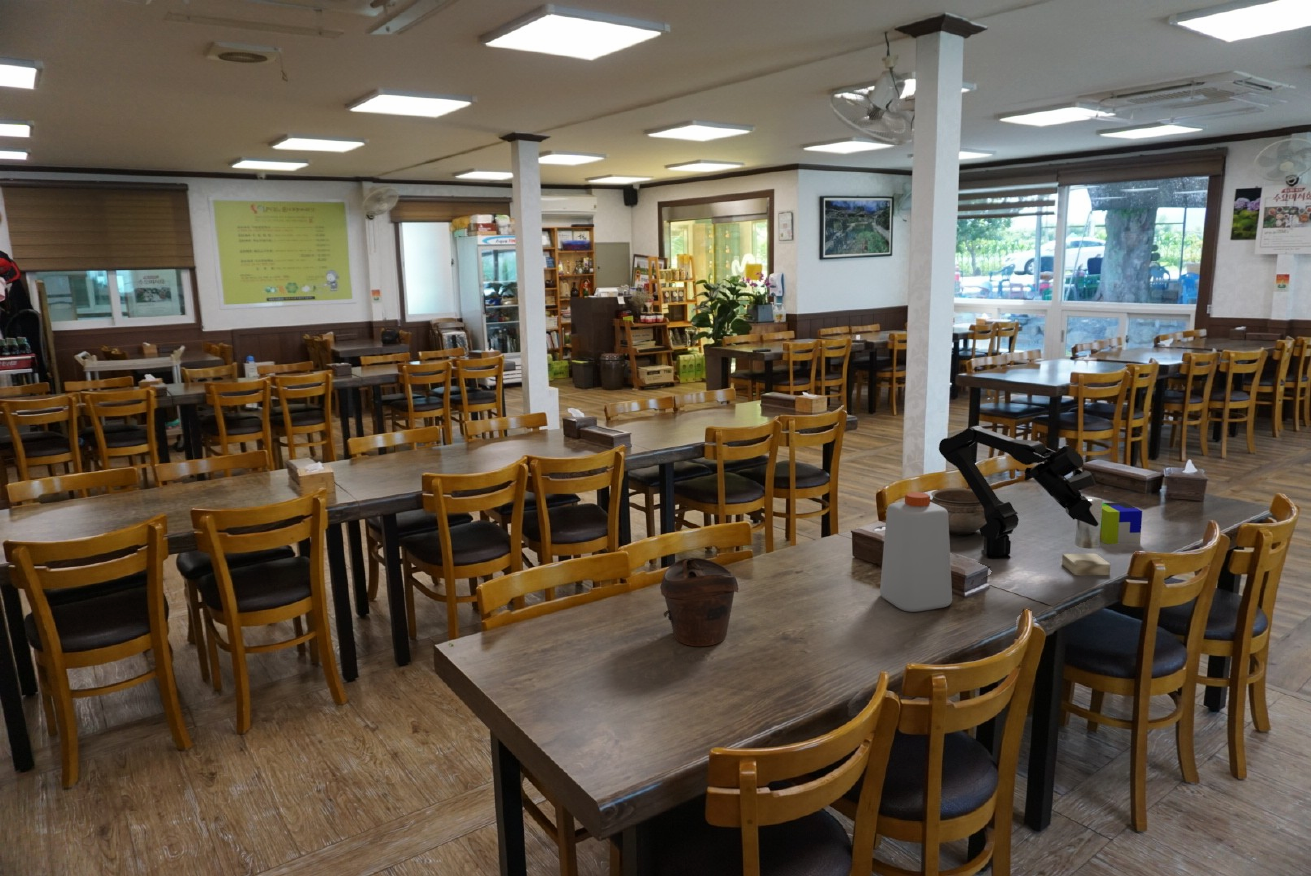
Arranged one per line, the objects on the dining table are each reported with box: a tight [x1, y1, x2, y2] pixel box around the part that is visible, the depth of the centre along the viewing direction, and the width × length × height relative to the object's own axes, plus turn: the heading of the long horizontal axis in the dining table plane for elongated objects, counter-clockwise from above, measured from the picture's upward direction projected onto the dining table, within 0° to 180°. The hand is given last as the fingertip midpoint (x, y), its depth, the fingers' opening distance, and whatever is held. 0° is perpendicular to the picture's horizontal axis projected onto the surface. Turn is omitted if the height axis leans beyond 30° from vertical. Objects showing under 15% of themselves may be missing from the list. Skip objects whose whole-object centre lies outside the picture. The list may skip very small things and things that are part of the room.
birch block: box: [1061, 553, 1111, 576], centre depth 234 cm, size 9×9×3 cm
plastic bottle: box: [879, 491, 953, 613], centre depth 215 cm, size 15×15×28 cm
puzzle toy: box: [1100, 501, 1143, 545], centre depth 258 cm, size 10×10×10 cm
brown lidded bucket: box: [659, 556, 740, 647], centre depth 200 cm, size 18×20×18 cm
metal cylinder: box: [1074, 496, 1104, 550], centre depth 232 cm, size 6×6×13 cm
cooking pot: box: [930, 487, 987, 536], centre depth 270 cm, size 25×19×12 cm
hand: (1094, 522), depth 232 cm, fingers closed on metal cylinder, 6 cm apart
